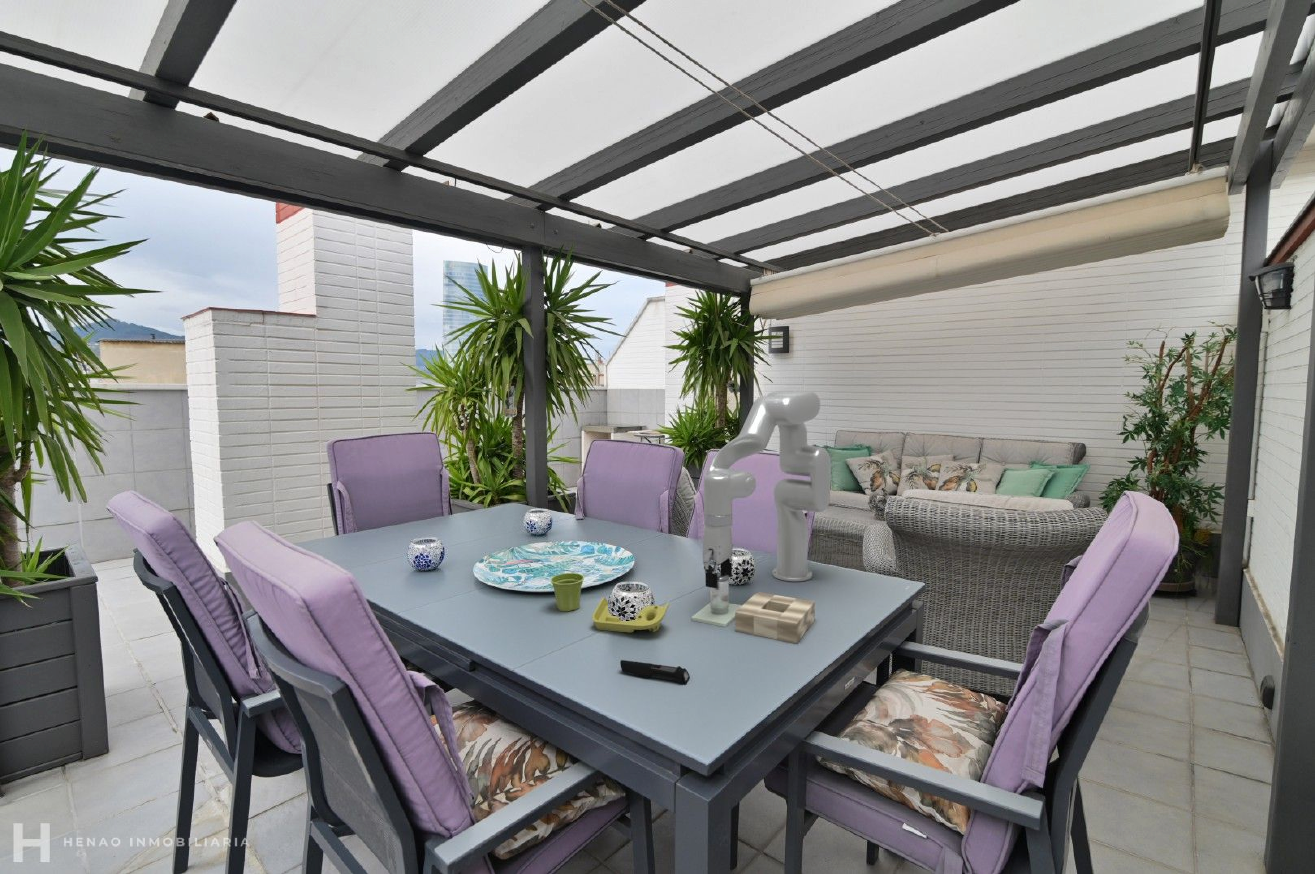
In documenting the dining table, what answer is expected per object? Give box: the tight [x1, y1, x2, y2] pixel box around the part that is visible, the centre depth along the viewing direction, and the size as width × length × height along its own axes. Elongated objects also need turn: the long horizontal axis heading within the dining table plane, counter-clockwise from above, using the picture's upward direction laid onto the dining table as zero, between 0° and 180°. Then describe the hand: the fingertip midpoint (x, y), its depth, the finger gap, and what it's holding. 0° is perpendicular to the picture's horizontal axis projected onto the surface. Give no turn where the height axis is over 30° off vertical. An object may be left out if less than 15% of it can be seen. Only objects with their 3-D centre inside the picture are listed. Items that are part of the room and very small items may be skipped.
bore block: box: [734, 591, 816, 644], centre depth 156 cm, size 16×16×5 cm
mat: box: [690, 602, 743, 628], centre depth 164 cm, size 14×10×1 cm
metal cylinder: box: [709, 572, 730, 615], centre depth 164 cm, size 5×5×10 cm
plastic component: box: [591, 597, 670, 634], centre depth 157 cm, size 20×7×10 cm
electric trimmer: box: [619, 659, 691, 685], centre depth 131 cm, size 4×16×3 cm, turn 70°
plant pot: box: [550, 572, 585, 612], centre depth 171 cm, size 9×9×9 cm
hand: (719, 581), depth 163 cm, fingers open, 9 cm apart
